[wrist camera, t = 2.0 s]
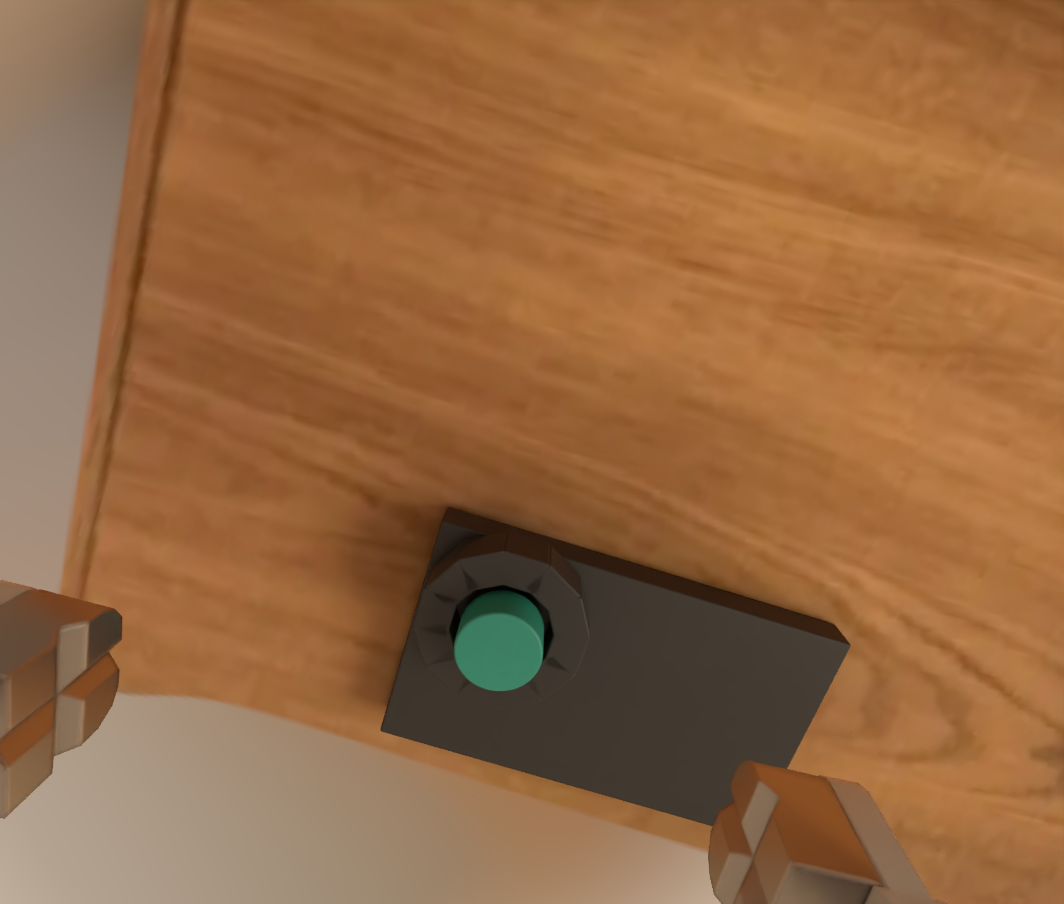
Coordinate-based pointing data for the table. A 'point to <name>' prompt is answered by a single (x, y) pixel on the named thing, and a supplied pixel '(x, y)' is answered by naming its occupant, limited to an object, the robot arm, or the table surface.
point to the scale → (612, 672)
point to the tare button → (500, 641)
